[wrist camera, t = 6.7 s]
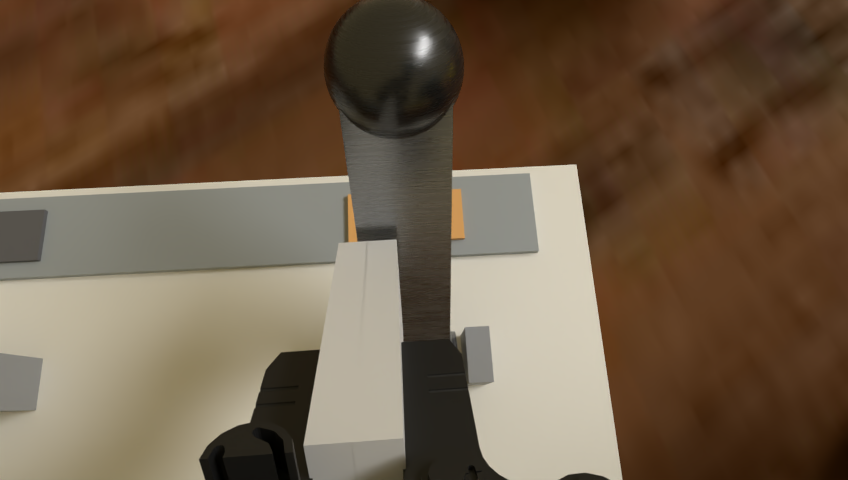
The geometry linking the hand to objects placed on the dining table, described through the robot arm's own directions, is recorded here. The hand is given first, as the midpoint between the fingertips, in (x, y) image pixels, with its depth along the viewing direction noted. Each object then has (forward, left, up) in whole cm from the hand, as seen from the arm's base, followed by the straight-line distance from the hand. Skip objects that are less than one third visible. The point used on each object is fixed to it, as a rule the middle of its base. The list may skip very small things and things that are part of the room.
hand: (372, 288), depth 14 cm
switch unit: (+7, -1, -12) cm, 13 cm away
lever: (-1, +2, -5) cm, 6 cm away
